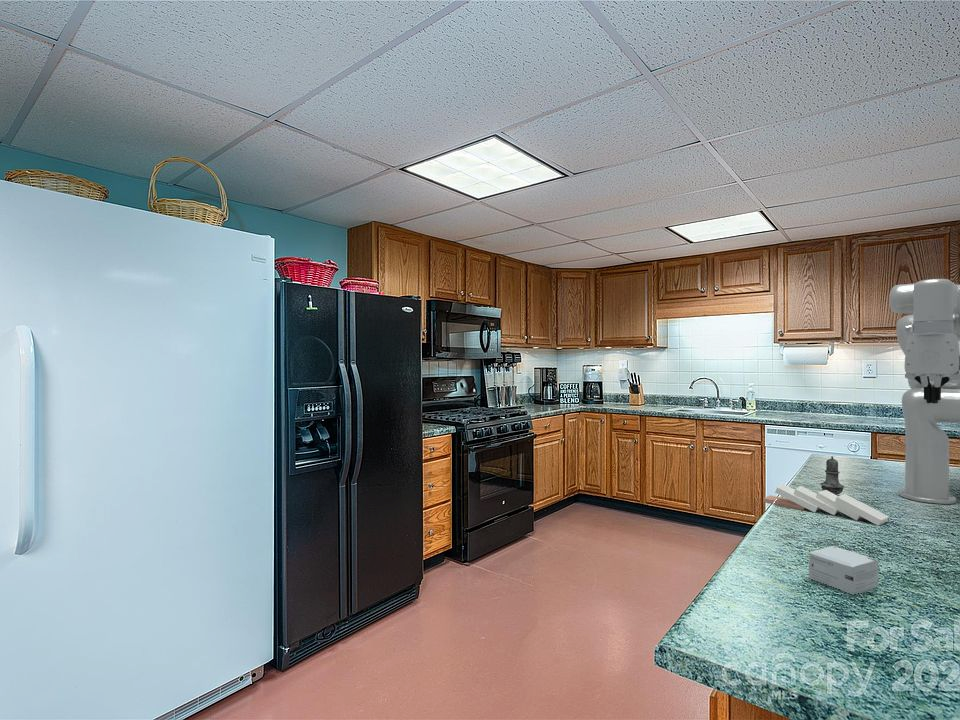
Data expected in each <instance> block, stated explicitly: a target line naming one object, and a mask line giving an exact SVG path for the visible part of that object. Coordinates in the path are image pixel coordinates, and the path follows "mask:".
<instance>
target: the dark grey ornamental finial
mask: <svg viewBox="0 0 960 720" xmlns="http://www.w3.org/2000/svg"><path fill="white" fill-rule="evenodd" d="M838 461H839V460H837V459H835V458H834V456H833V455H832V456H830V458H828V459H827V460H826V462H825V468H826V469H825V470H824V473H825V480H824V481H823V482H820V483H819V485H821V487H820V488H821V491H824V490H827V491H829V492H831V493H833V494H835V495H837V496H840V495H841V493H842V492H843V491H844V488H845V485H843V484H841V483H840V480H839V474H840V473H841V472H840V471H839V462H838Z"/></svg>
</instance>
